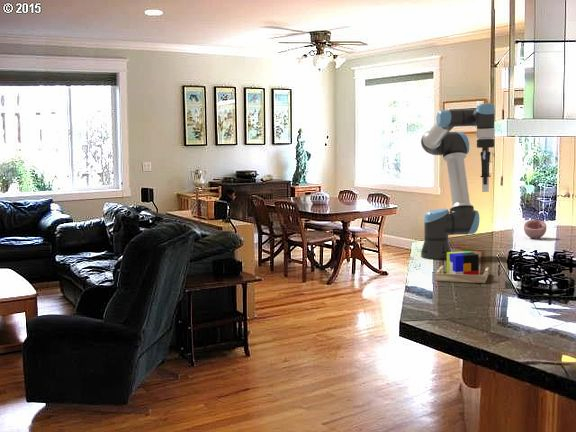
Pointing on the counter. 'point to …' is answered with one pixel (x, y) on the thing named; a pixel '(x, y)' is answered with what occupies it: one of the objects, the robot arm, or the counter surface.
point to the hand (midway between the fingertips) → (485, 191)
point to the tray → (461, 276)
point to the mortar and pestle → (535, 228)
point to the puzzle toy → (462, 263)
